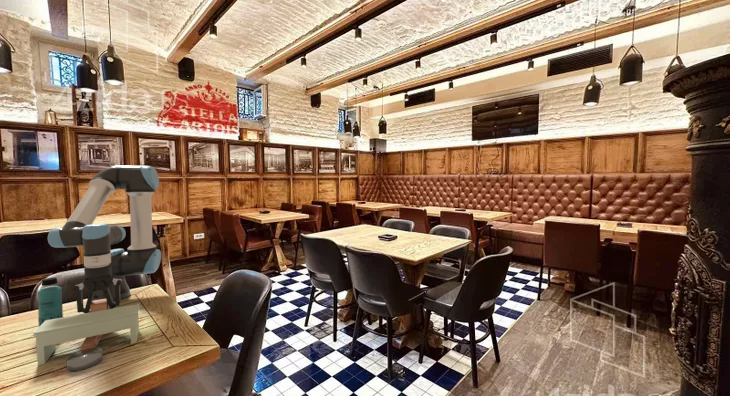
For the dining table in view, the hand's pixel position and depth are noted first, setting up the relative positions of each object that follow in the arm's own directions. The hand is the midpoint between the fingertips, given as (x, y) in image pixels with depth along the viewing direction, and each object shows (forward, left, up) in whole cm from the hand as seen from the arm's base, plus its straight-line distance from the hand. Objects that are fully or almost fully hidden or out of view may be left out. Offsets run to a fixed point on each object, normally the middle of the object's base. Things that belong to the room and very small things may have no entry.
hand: (100, 326), depth 112 cm
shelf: (+12, 0, -2) cm, 13 cm away
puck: (+24, 0, -2) cm, 24 cm away
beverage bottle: (-12, -16, -2) cm, 20 cm away
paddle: (+9, 0, 0) cm, 9 cm away
